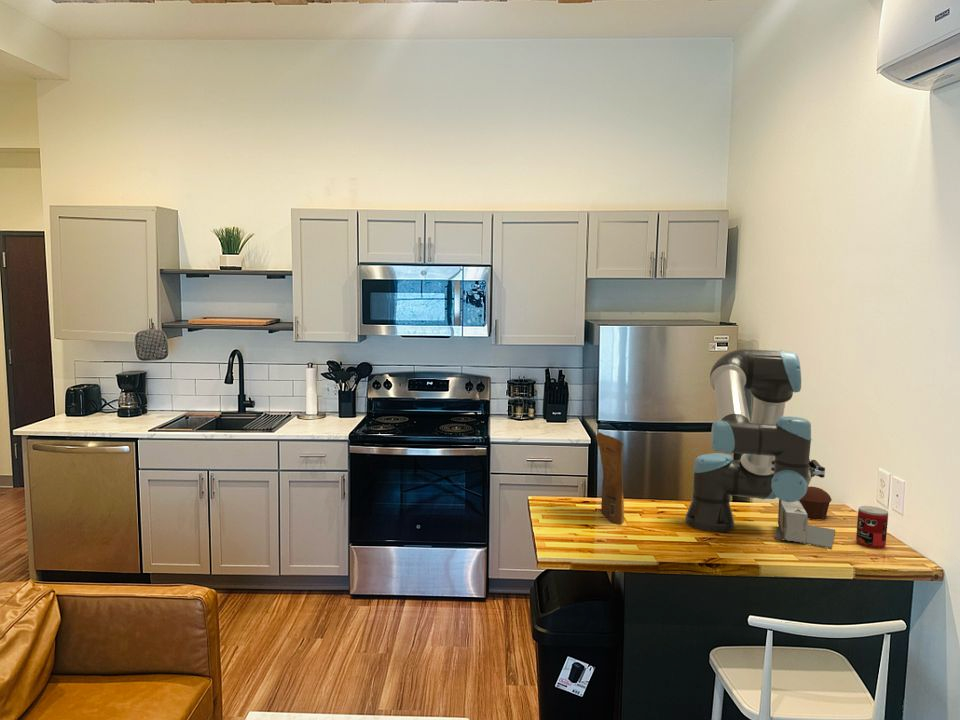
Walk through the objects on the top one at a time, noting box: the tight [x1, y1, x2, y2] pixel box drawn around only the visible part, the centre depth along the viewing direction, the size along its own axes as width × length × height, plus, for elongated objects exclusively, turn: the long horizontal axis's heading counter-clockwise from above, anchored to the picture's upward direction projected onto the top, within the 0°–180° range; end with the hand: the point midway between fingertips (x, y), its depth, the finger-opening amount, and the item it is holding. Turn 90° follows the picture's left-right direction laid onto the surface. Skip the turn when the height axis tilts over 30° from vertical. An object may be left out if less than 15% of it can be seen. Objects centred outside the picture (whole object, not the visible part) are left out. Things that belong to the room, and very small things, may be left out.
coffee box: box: [777, 498, 809, 543], centre depth 212 cm, size 9×6×16 cm
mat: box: [773, 524, 836, 549], centre depth 213 cm, size 16×19×1 cm
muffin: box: [799, 486, 833, 520], centre depth 233 cm, size 12×11×10 cm
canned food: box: [855, 505, 889, 549], centre depth 205 cm, size 8×8×11 cm
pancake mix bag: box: [595, 431, 625, 525], centre depth 224 cm, size 7×19×28 cm, turn 8°
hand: (803, 458), depth 188 cm, fingers closed
